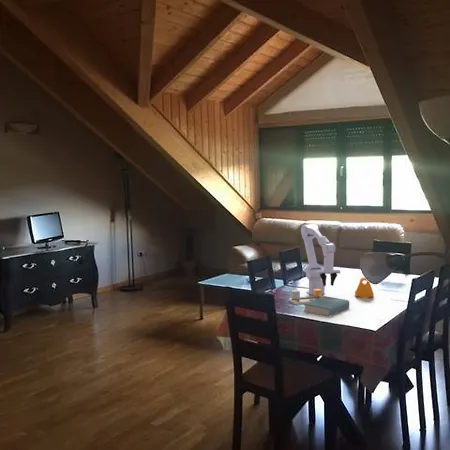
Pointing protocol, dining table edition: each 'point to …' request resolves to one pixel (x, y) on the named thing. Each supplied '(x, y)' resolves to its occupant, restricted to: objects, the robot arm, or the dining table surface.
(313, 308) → the book
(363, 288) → the bracket
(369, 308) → the dining table surface
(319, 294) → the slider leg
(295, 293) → the pitch plate
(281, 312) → the dining table surface
